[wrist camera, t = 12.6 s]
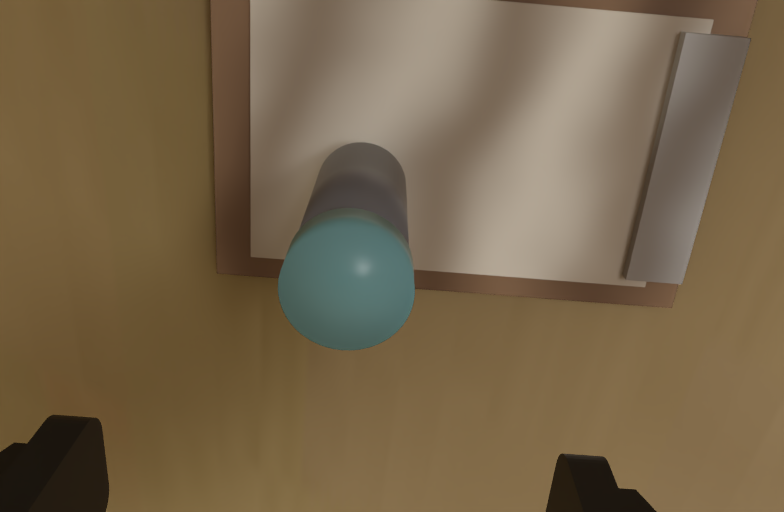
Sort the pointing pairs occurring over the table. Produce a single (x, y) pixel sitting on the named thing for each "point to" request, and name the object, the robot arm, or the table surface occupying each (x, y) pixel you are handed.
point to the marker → (351, 253)
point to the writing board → (484, 132)
